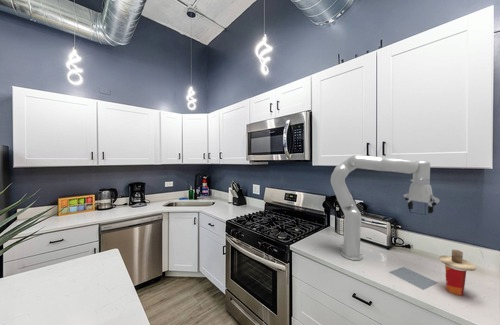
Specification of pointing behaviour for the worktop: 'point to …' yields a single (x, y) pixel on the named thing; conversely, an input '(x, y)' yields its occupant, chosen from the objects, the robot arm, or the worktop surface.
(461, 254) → the oak lid
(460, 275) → the paper cup
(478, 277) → the worktop surface
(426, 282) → the grey mat
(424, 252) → the worktop surface
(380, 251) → the worktop surface
